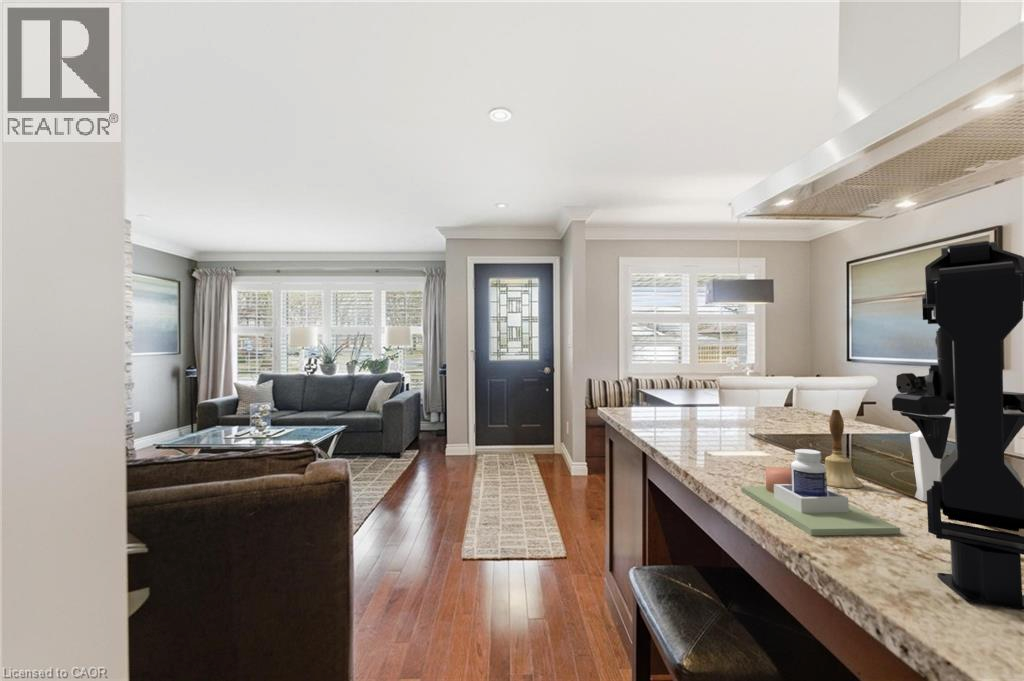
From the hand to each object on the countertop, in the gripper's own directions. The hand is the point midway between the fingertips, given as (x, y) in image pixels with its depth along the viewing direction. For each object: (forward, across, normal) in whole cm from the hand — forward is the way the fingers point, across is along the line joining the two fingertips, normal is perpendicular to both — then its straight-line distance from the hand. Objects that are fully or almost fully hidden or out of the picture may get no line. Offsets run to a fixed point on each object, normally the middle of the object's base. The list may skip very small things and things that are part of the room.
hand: (966, 457), depth 70 cm
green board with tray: (+12, +17, -12) cm, 24 cm away
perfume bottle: (+12, -9, -16) cm, 22 cm away
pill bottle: (+11, +17, -12) cm, 24 cm away
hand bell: (+12, 0, -27) cm, 30 cm away
